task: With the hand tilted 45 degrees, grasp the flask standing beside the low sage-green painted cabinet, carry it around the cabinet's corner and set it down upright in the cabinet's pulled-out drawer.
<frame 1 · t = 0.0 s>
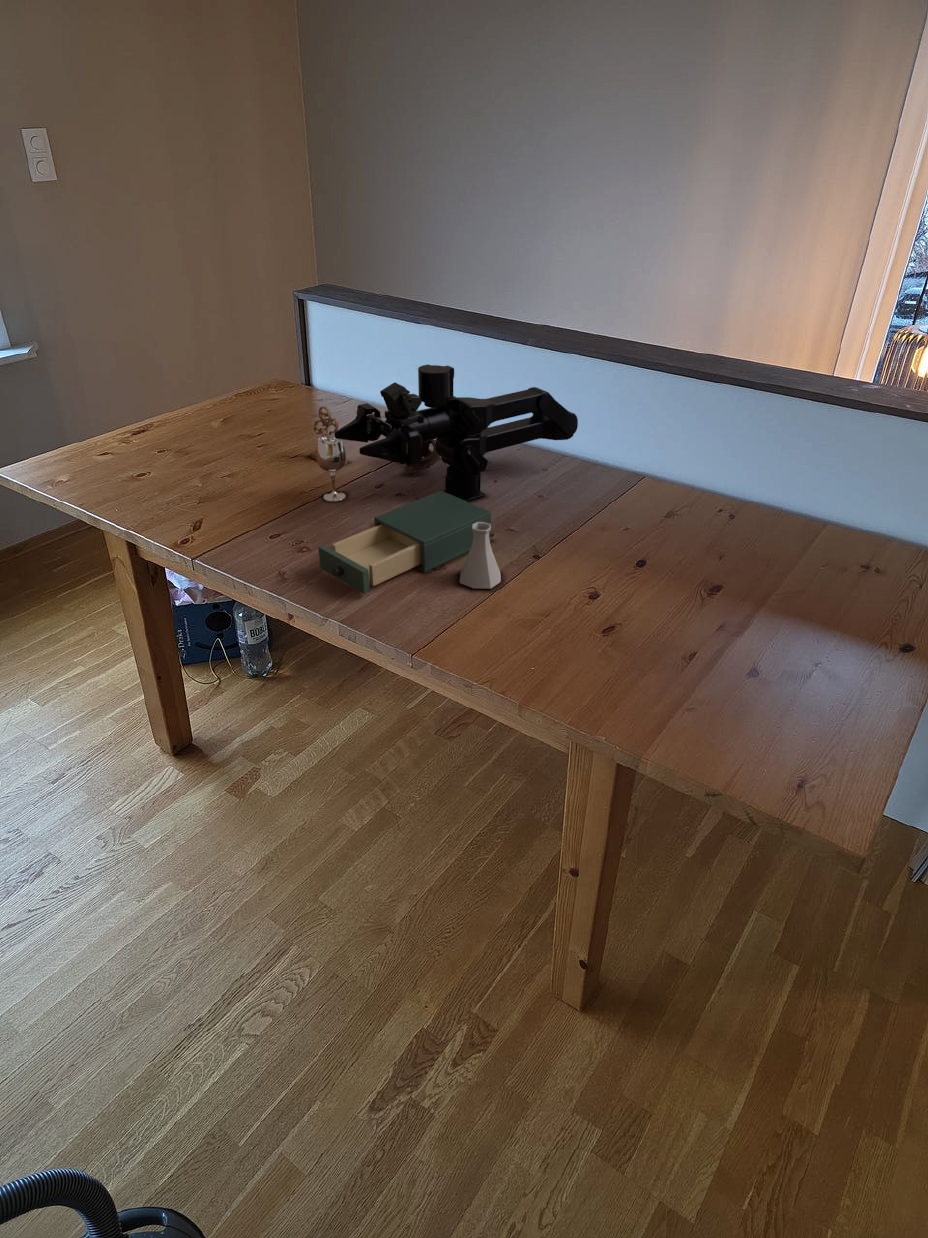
hand: (347, 443, 141), 17 cm above the table, tool horizontal, fingers open, 9 cm apart
cabinet: (433, 544, 145), on the table
drawer: (374, 555, 135), point 3 cm above the table, slide at 11.5 cm
brown looped piece: (329, 460, 178), on the table
wineglass: (334, 497, 162), on the table
pottery mug: (416, 467, 175), on the table
flask: (480, 580, 135), on the table
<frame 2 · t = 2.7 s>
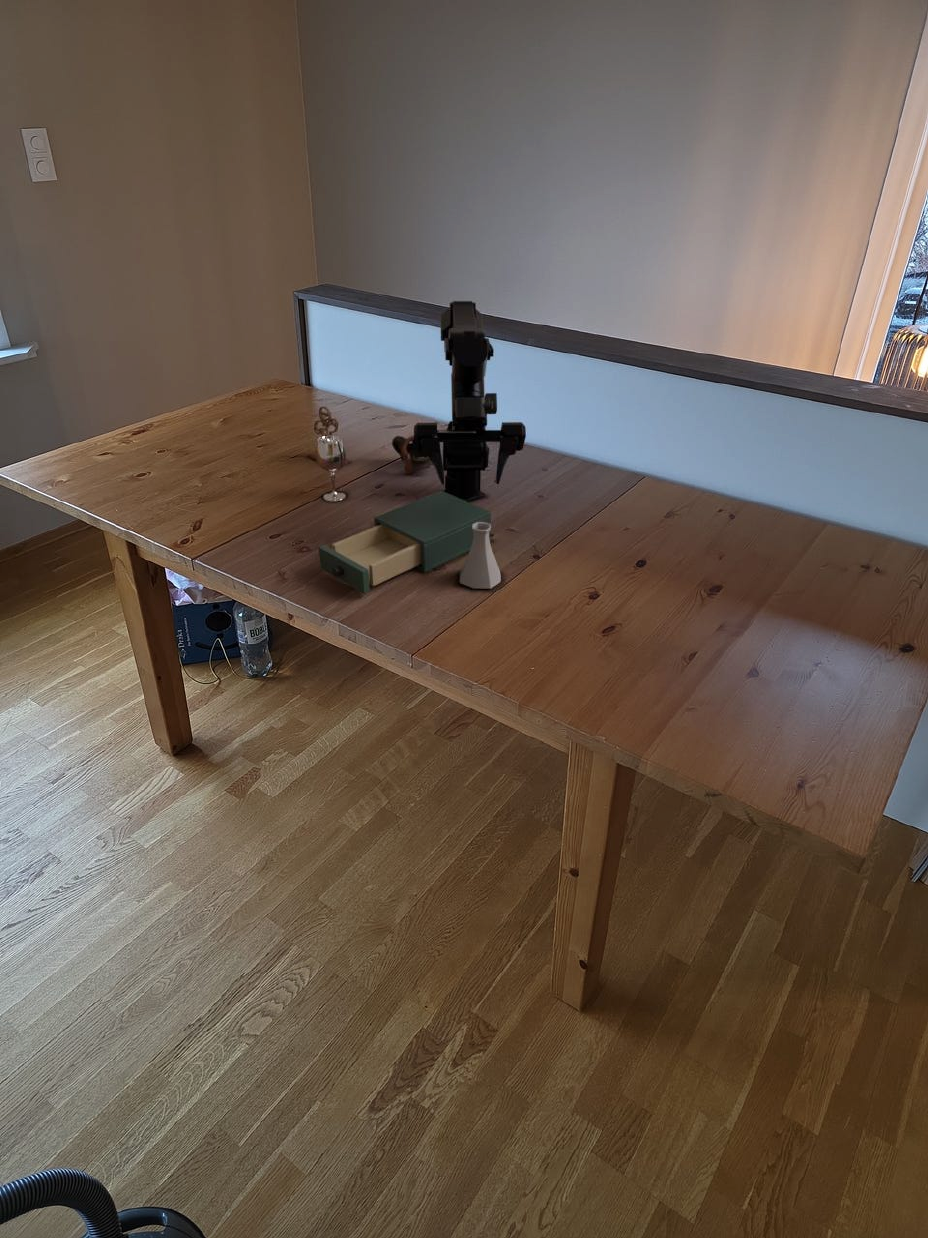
hand: (470, 483, 134), 14 cm above the table, tool tilted 45°, fingers open, 9 cm apart
nothing on the table moved.
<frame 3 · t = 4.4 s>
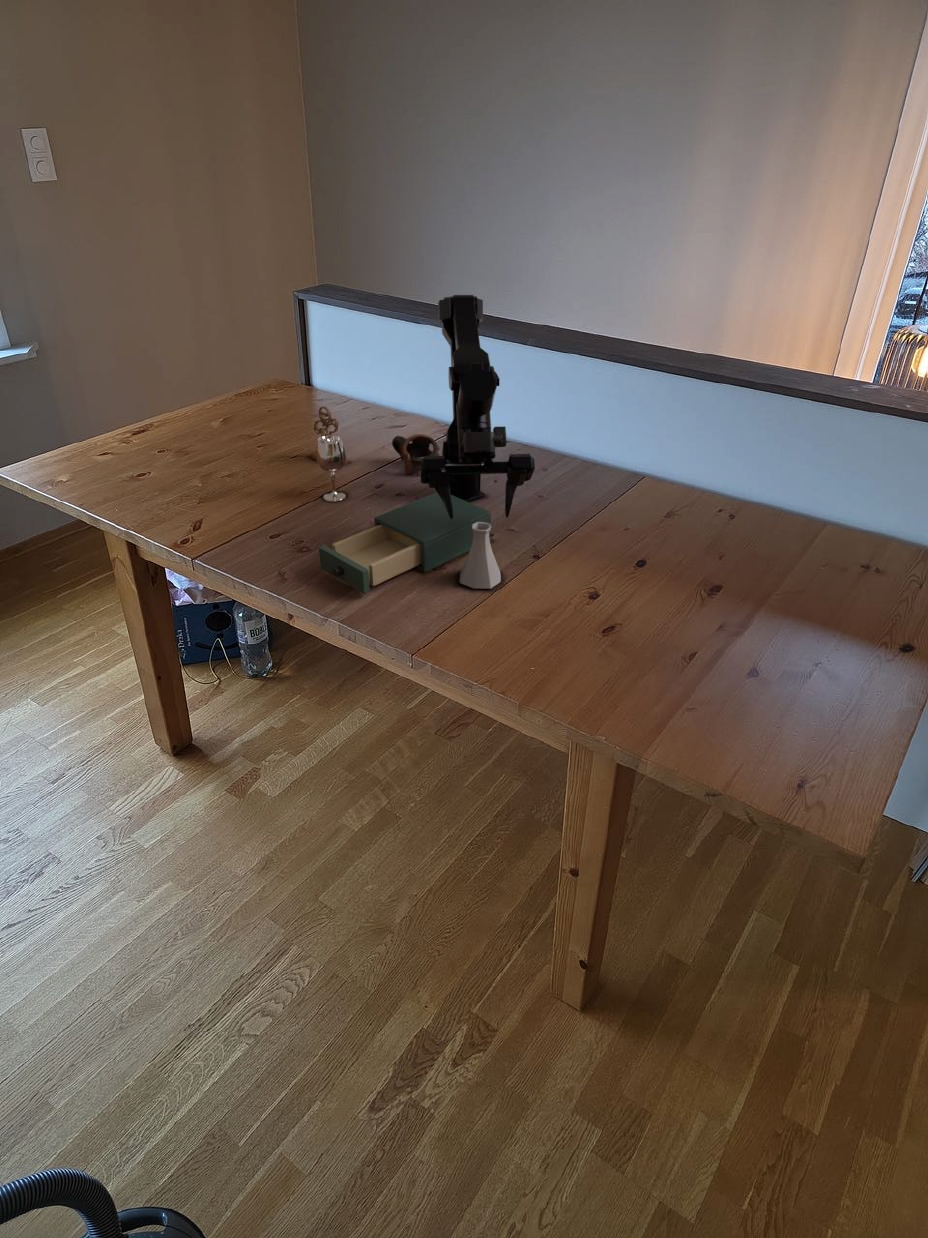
hand: (479, 517, 132), 10 cm above the table, tool tilted 45°, fingers open, 9 cm apart
nothing on the table moved.
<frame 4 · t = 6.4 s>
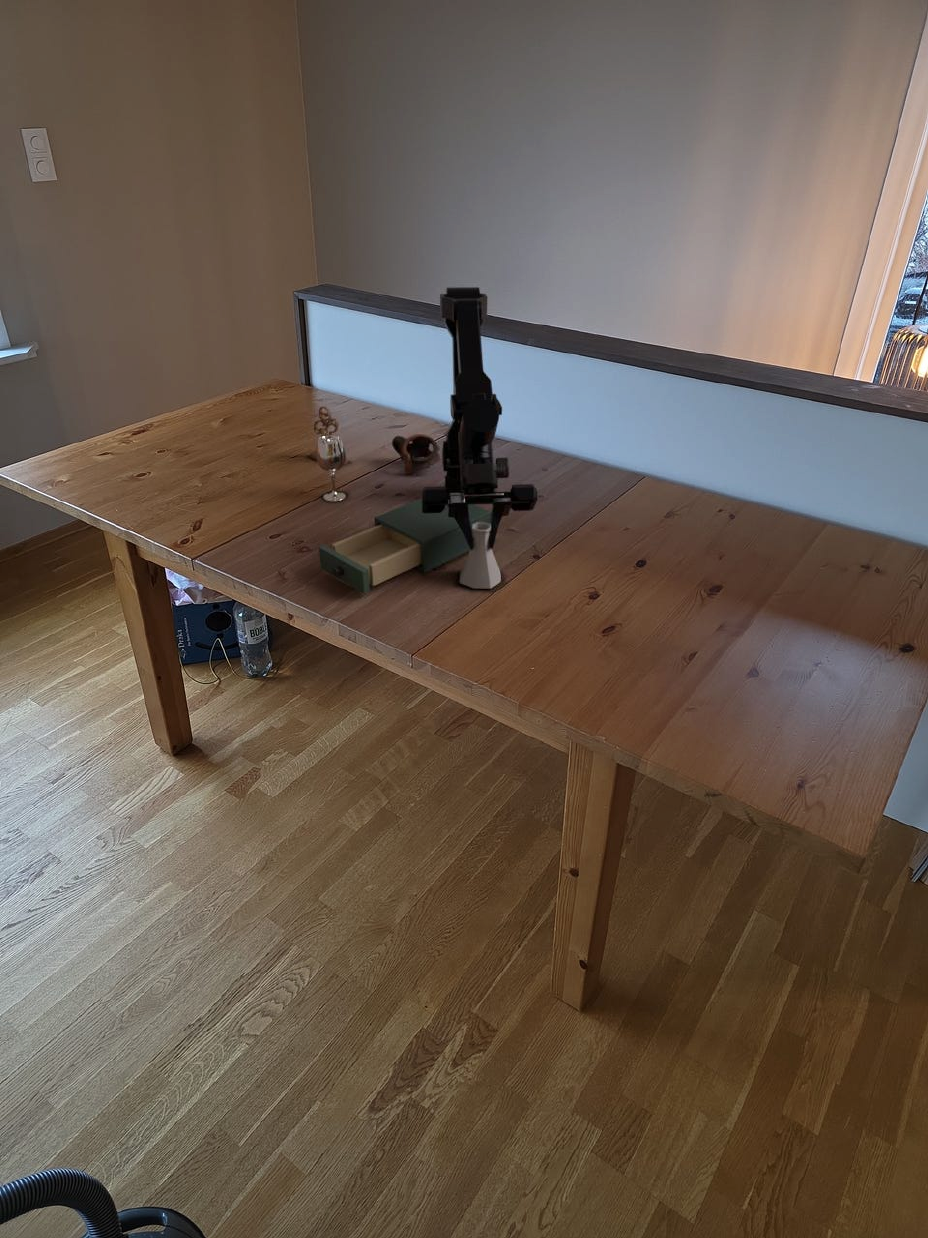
hand: (481, 548, 130), 7 cm above the table, tool tilted 45°, fingers closed on flask, 3 cm apart
flask: (480, 580, 135), on the table, touching gripper
everything else where it was.
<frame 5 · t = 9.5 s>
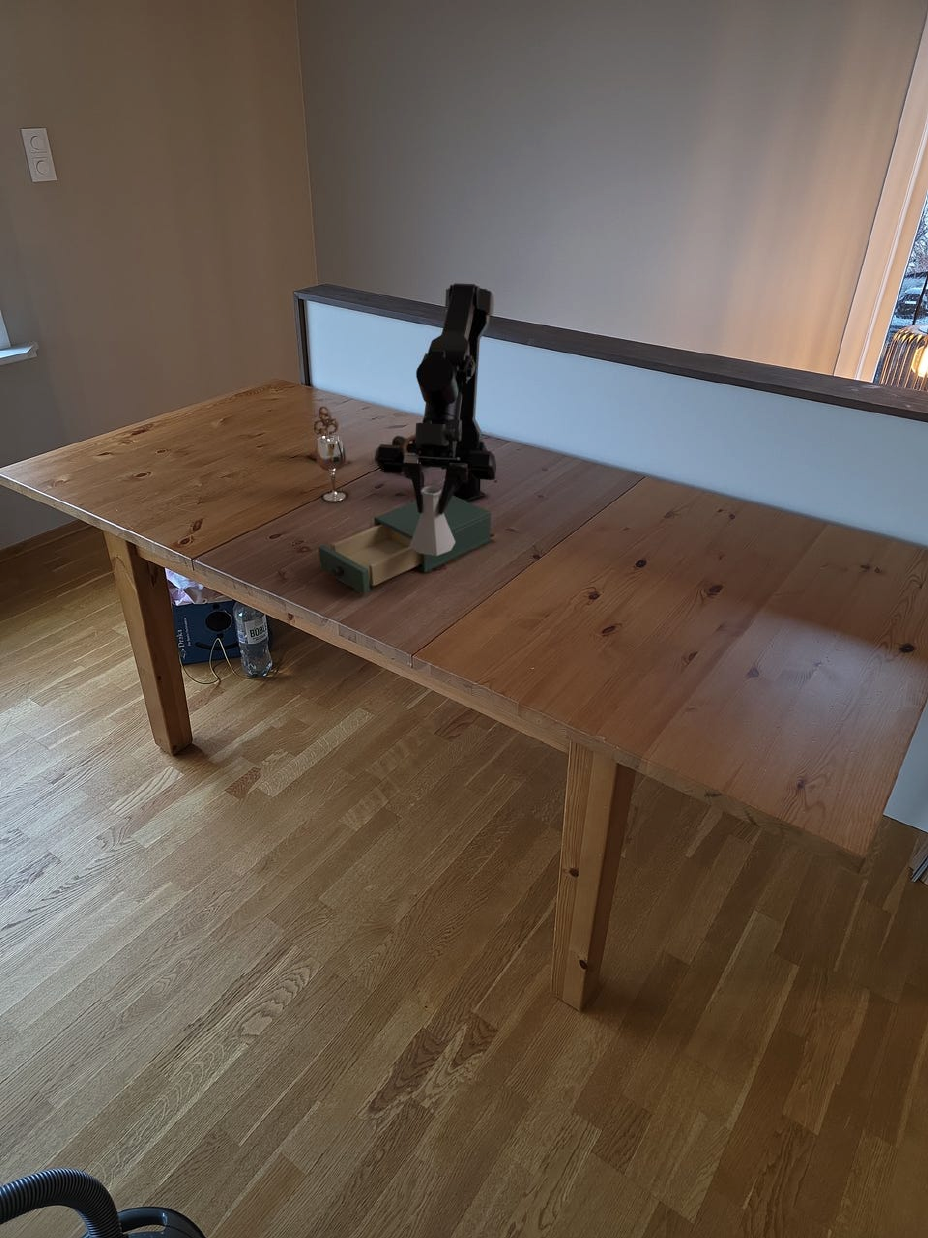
hand: (429, 513, 126), 13 cm above the table, tool tilted 45°, fingers closed on flask, 3 cm apart
flask: (432, 546, 131), point 7 cm above the table, touching gripper
everything else where it was.
when the fingers open (8 cm above the table, at t = 13.0 s): flask stays where it is, resting on drawer.
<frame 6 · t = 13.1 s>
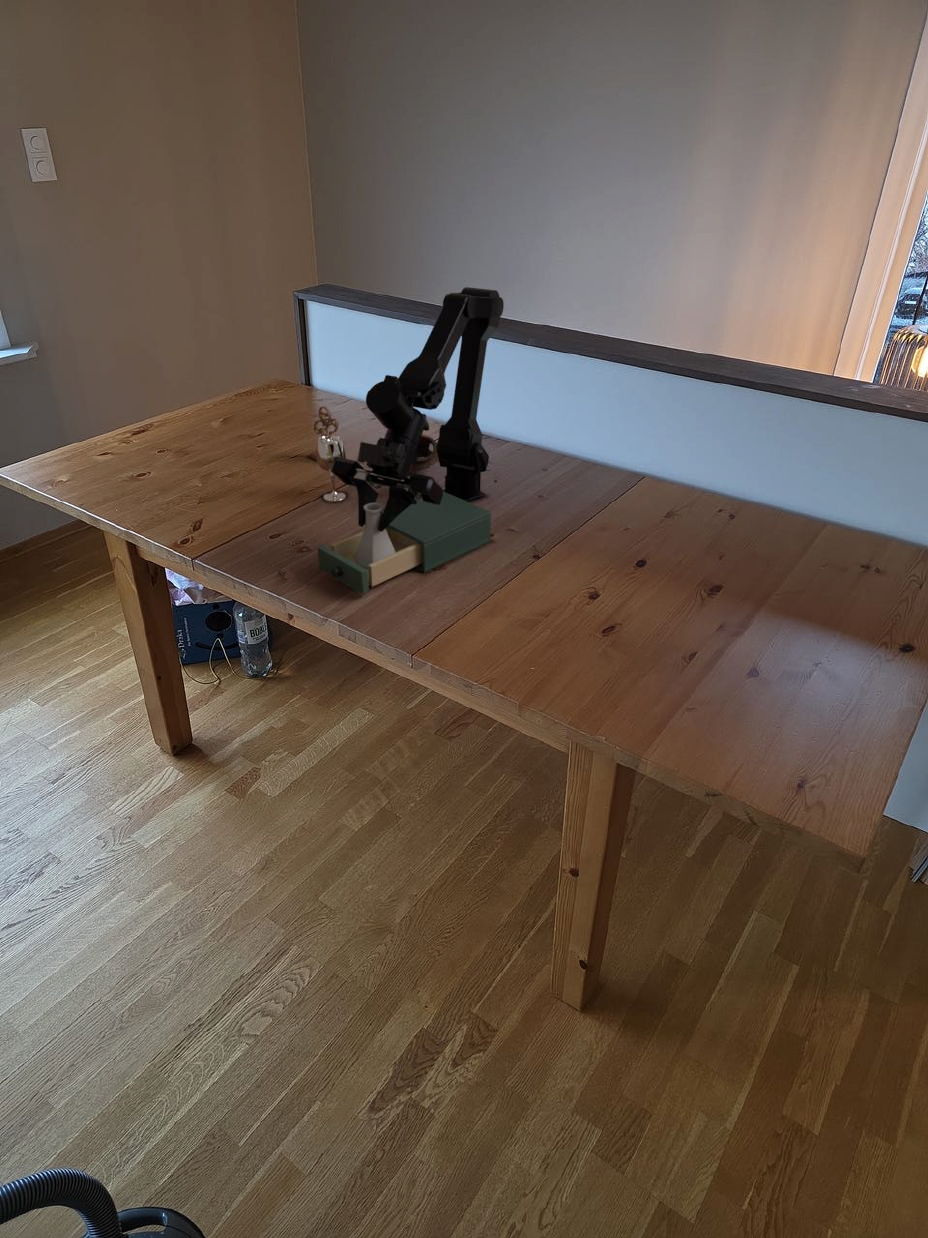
hand: (370, 528, 132), 9 cm above the table, tool tilted 45°, fingers open, 3 cm apart
drawer: (373, 555, 135), point 3 cm above the table, slide at 11.7 cm, touching flask
flask: (376, 560, 136), point 2 cm above the table, touching drawer
everything else where it was.
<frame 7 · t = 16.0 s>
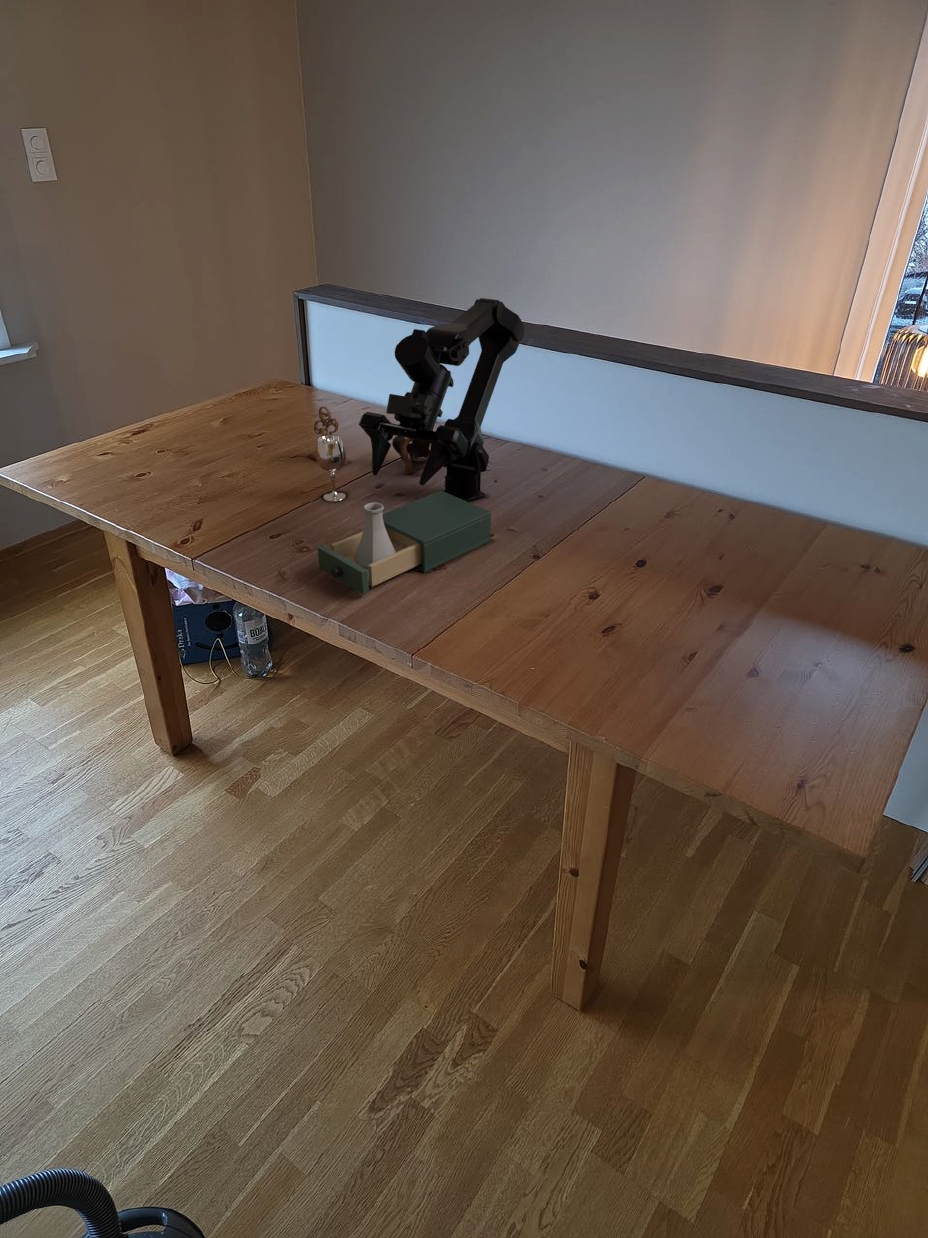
hand: (397, 479, 136), 14 cm above the table, tool tilted 45°, fingers open, 9 cm apart
nothing on the table moved.
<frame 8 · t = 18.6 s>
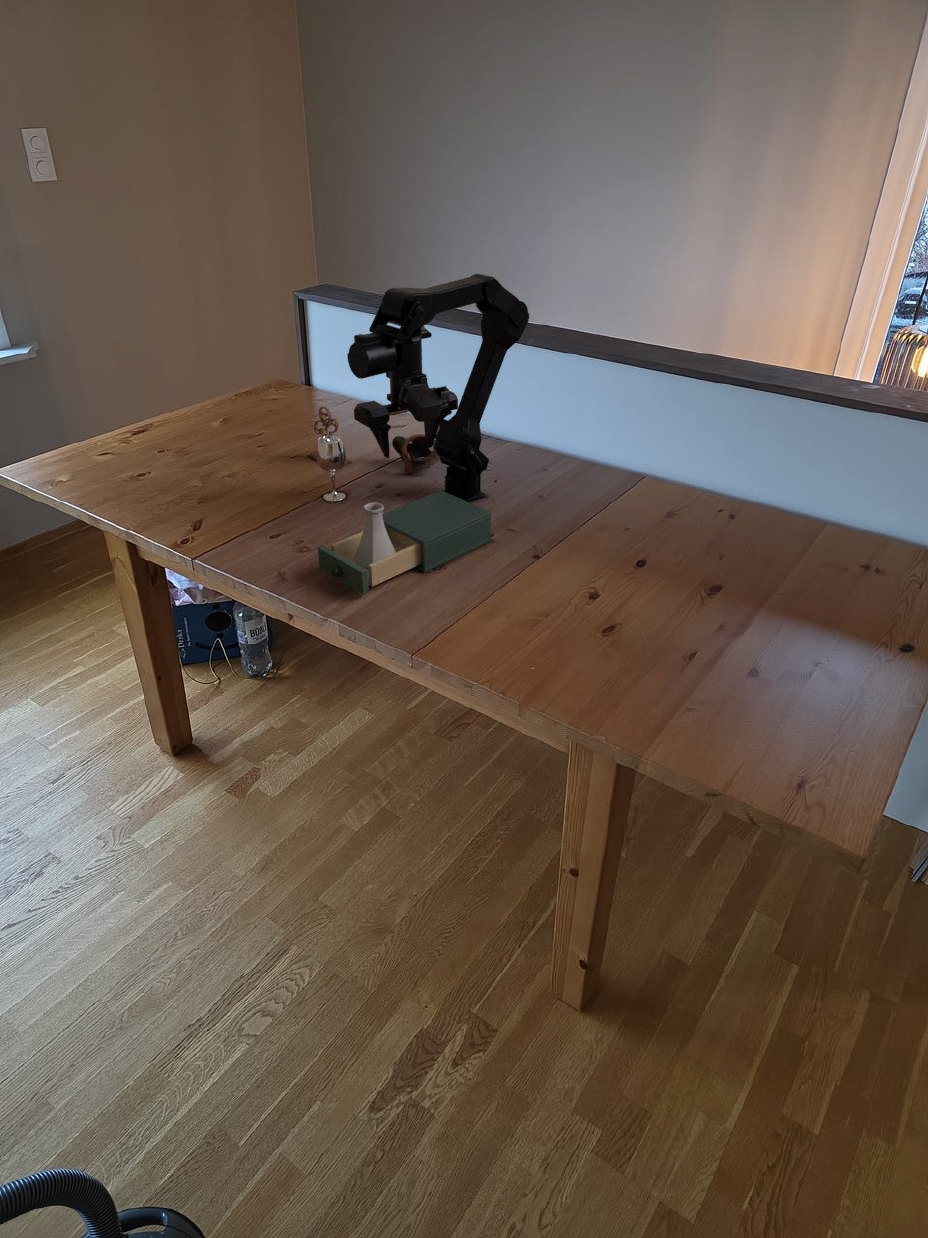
hand: (408, 452, 148), 13 cm above the table, tool pointing down, fingers open, 9 cm apart
nothing on the table moved.
at the end: flask inside the target area in the drawer (0.0 cm from its centre), point 1.7 cm above the cabinet's base; flask touching drawer; flask tilted 0° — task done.
